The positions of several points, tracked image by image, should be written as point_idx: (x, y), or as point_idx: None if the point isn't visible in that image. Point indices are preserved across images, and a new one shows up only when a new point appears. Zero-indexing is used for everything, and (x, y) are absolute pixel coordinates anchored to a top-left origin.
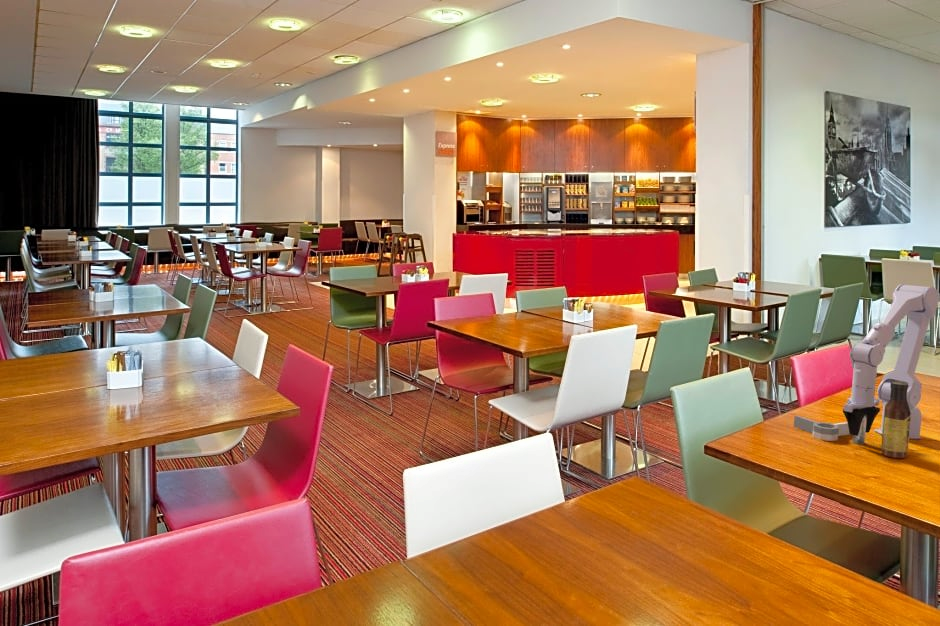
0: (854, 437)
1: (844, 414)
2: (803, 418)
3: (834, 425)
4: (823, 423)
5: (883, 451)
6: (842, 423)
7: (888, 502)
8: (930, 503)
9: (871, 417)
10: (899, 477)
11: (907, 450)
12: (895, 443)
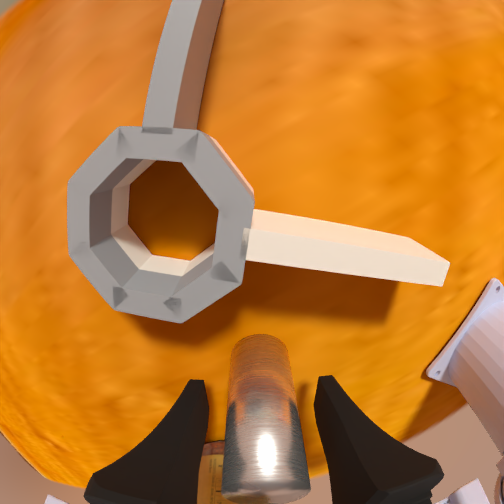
0: (230, 371)
1: (109, 465)
2: (175, 3)
3: (218, 266)
4: (190, 171)
5: None
6: (343, 263)
7: (29, 456)
8: (77, 486)
9: (331, 486)
10: None
11: None
12: None
